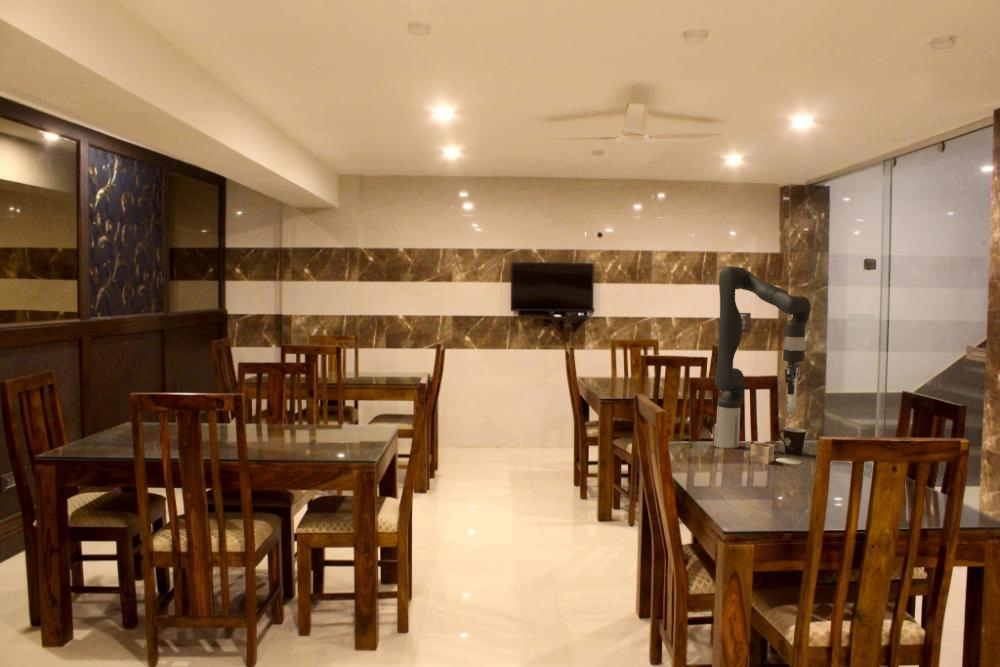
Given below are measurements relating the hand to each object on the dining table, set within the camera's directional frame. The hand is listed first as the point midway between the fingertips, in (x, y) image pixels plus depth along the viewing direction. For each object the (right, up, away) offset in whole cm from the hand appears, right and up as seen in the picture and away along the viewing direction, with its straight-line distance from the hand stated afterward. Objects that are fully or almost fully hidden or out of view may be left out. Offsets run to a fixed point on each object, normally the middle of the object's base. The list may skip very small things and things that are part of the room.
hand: (792, 393), depth 274 cm
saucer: (-1, -27, +2) cm, 27 cm away
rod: (0, -8, +1) cm, 8 cm away
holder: (-11, -27, +1) cm, 29 cm away
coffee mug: (+8, -26, +19) cm, 33 cm away
